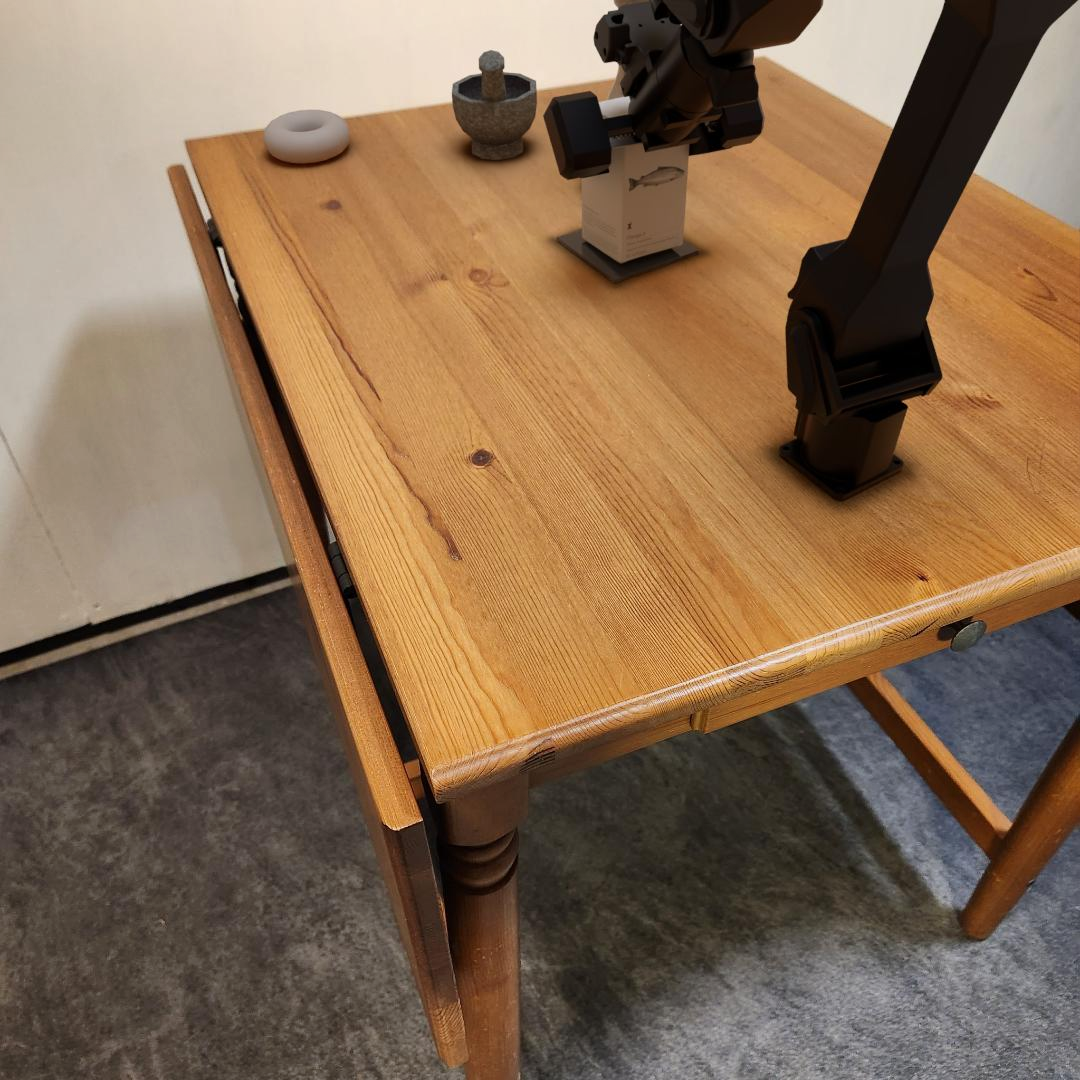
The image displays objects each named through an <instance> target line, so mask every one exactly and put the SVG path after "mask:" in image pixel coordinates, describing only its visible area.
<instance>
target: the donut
mask: <svg viewBox="0 0 1080 1080" xmlns="http://www.w3.org/2000/svg"><path fill="white" fill-rule="evenodd" d="M262 138H263V139H262V140H263V145H264V147H265V149H266V150H267V151H268V153H269V154H270V155H271V156H272V157H274V158H276V159H278V160H280V161H282V162H285V163H292V164H302V165H303V164H304V165H305V164H313V163H314V164H315V163H319V162H324V161H327V160H329V159H332V158H335V157H337V156H338V155H340V154H341V153H342V152H344V151H345V150H346V148H347V147H348V146H349V144H350V141H351V131H350V127H349V125H348V123H347V122H346V121H345V119H344V118H343V117H342V116H340V115H338V114H337V113H334V112H332V111H329V110H322V109H299V110H294V111H290V112H286V113H283V114H281V115H279V116H277V117H276V118H274V119H272V120H270V122H269V123H268V124H267V126H266V127H265V128H264V131H263V137H262Z"/></svg>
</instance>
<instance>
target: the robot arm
mask: <svg viewBox="0 0 1080 1080" xmlns="http://www.w3.org/2000/svg"><path fill="white" fill-rule="evenodd" d="M1078 1H1079V0H944V2H943V5H942V9H941V11H940V14H939V17H938V18H937V22H936V24H935V26H934V29H933V32H932V34H931V36H930V39H929V41H928V44H927V46H926V48H925V50H924V53H923V55H922V58H921V60H920V62H919V65H918V67H917V70H916V72H915V75H914V77H913V80H912V81H911V85H910V87H909V89H908V91H907V94H906V97H905V98H904V102H903V104H902V106H901V109H900V111H899V113H898V116H897V119H896V121H895V124H894V126H893V128H892V131H891V133H890V135H889V138H888V140H887V143H886V146H885V147H884V150H883V152H882V155H881V157H880V160H879V162H878V165H877V167H876V169H875V171H874V174H873V175H872V180H871V182H870V183H869V186H868V189H867V190H866V193H865V196H864V199H863V201H862V203H861V206H860V208H859V209H858V213H857V215H856V218H855V220H854V222H853V225H852V227H851V230H850V231H849V233H848V235H847V237H846V238H843V239H839V240H835V241H831V242H825V243H822V244H819V245H814V246H810V247H809V248H808V249H807V251H806V252H805V253H804V255H803V257H802V259H801V262H800V267H799V271H798V274H797V278H796V281H795V283H794V285H793V287H791V289H790V290H789V291H788V292H787V294H786V296H787V299H790V300H792V301H791V303H790V305H789V308H788V311H787V314H786V322H785V327H784V330H785V331H784V332H785V333H784V335H785V360H786V361H785V362H786V382H787V383H786V385H787V390H788V391H789V392H790V394H791V395H793V396H794V397H795V405H794V408H795V410H797V415H796V419H795V424H794V429H793V436H794V437H795V439H792V440H790V441H788V442H786V443H783V444H781V445H780V446H779V448H778V449H779V450H778V455H780V456H781V457H782V458H783V459H785V460H786V461H787V462H788V463H790V464H791V465H792V466H793V467H795V468H796V469H797V470H798V471H800V472H801V473H802V474H804V475H805V476H806V477H808V479H810V480H811V481H813V482H814V483H815V484H816V485H818V486H819V487H820V488H821V489H822V490H824V491H826V493H828V494H829V495H830V496H831V497H833V498H834V499H836V500H841V501H843V500H845V499H847V498H849V497H851V496H853V495H855V494H857V493H859V492H861V491H863V490H865V489H867V488H869V487H871V486H873V485H874V484H877V483H878V482H881V481H883V480H885V479H886V478H888V477H891V476H892V475H895V474H896V473H899V472H901V471H902V470H903V468H904V465H905V463H904V461H903V460H902V459H901V458H899V456H897V455H896V454H894V453H895V451H896V447H897V444H898V441H899V437H900V436H901V432H902V428H903V425H904V422H905V419H906V415H907V412H908V408H909V405H908V404H906V403H905V402H904V401H907V400H911V399H914V398H917V397H926V396H929V395H930V394H931V393H932V392H934V389H936V387H937V386H938V385H939V384H940V383H941V381H942V379H943V372H942V368H941V365H940V361H939V357H938V355H937V351H936V347H935V344H934V341H933V337H932V333H931V330H930V326H929V324H928V321H927V317H928V314H929V312H930V309H931V307H932V304H933V301H934V297H935V291H934V286H933V282H932V278H931V273H930V267H929V260H930V258H931V255H932V253H933V251H934V249H935V248H936V245H937V244H938V242H939V240H940V237H942V236H941V235H942V234H943V232H944V230H945V228H946V226H947V224H948V222H949V220H950V218H951V216H952V214H953V213H954V211H955V208H956V207H957V205H958V203H959V200H960V199H961V197H962V195H963V193H964V191H965V190H966V187H967V185H968V183H969V181H970V179H971V177H972V175H973V173H974V171H975V169H976V167H977V166H978V164H979V162H980V160H981V158H982V156H983V154H984V152H985V150H986V148H987V146H988V144H989V142H990V140H991V139H992V136H993V135H994V132H995V130H996V128H997V126H998V125H999V122H1000V121H1001V119H1002V118H1003V115H1004V113H1005V111H1006V109H1007V107H1008V106H1009V104H1010V101H1011V99H1012V98H1013V96H1014V93H1015V92H1016V89H1017V88H1018V85H1020V82H1021V80H1022V78H1023V76H1024V74H1025V72H1026V70H1027V68H1028V66H1029V64H1030V63H1031V60H1032V59H1033V56H1034V54H1035V53H1036V51H1037V49H1038V47H1039V45H1040V43H1041V41H1042V39H1043V37H1044V35H1045V34H1046V33H1047V31H1048V30H1049V29H1050V27H1051V26H1052V25H1053V24H1054V23H1056V22H1057V20H1059V19H1060V18H1061V17H1062V16H1063V15H1064V14H1065V13H1066V12H1067V11H1068V10H1069V9H1071V8H1072V7H1073V6H1074V5H1075V4H1076V3H1077V2H1078ZM823 6H824V0H649V1H647V2H641V3H634V4H628V5H623V6H621V7H619V8H617V9H613V10H608V11H607V13H606V14H603V15H602V16H601V17H600V19H599V21H598V22H597V23H596V25H595V28H594V33H593V45H594V47H595V49H596V51H597V53H598V54H599V55H598V56H599V57H600V59H601V61H602V62H603V63H604V64H610V63H617V65H618V66H619V65H621V66H622V68H623V70H624V72H625V73H626V74H625V76H624V77H623V79H622V80H621V82H620V86H621V89H622V93H623V96H624V97H628V96H629V98H630V103H629V106H628V114H627V115H622V116H616V117H611V118H606V119H603V116H602V112H601V109H600V105H599V102H600V101H599V99H598V96H597V94H595V93H594V92H593V91H591V90H587V91H581V92H576V93H575V92H574V93H571V94H564V95H558V96H553V97H552V98H551V100H550V102H549V104H548V106H547V107H546V109H545V111H544V112H543V115H542V117H543V121H544V124H545V128H546V131H547V134H548V137H549V141H550V145H551V148H552V152H553V155H554V159H555V162H556V166H557V170H558V172H559V173H558V174H559V175H560V176H561V177H562V178H564V179H565V180H567V181H570V180H571V181H572V180H576V179H582V178H587V177H592V176H597V175H602V174H607V173H609V168H608V167H609V166H610V165H611V154H612V150H614V149H620V148H625V147H630V146H635V145H640V144H643V147H644V151H645V153H646V152H651V151H656V150H661V149H666V148H671V147H676V146H681V145H686V144H689V157H693V156H701V155H706V154H710V153H716V152H721V151H726V150H730V149H732V148H735V147H739V146H744V145H745V146H746V145H749V144H752V143H753V142H754V141H756V139H757V138H758V137H759V136H760V135H762V133H763V130H764V127H765V121H766V120H765V119H766V117H765V113H764V109H763V107H762V103H761V98H760V96H759V91H760V84H759V81H758V78H757V74H756V65H755V64H754V59H755V52H754V51H755V50H761V49H762V50H763V49H766V48H773V47H778V46H783V45H789V44H792V43H793V42H795V41H797V39H798V38H799V37H800V36H801V35H802V33H803V32H805V30H806V28H807V27H808V26H809V25H810V24H811V22H812V21H813V20H814V19H815V18H816V16H817V15H818V14H819V12H820V11H821V10H822V8H823ZM633 133H635V134H633ZM629 134H630V135H629ZM621 135H622V137H621ZM625 135H626V136H625ZM616 136H618V138H617V137H616ZM612 137H613V138H612Z"/></svg>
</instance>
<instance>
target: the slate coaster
mask: <svg viewBox="0 0 1080 1080" xmlns="http://www.w3.org/2000/svg"><path fill="white" fill-rule="evenodd" d="M556 242H558V243H559V244H560V245H561V246H563V247H564V248H566V249H567V250H568V251H569V252H571V253H572V254H574V256H576V257H577V258H578V259H580V260H582V261H583V262H584V263H586V264H588V265H589V267H591V268H593V269H594V270H595V271H597V272H598V273H599V274H601V275H602V276H604V277H605V278H606V279H607V280H609V281H610V282H611V283H613V284H617V283H620V282H622V281H625V280H628V279H632V278H633V277H636V276H637V277H638V276H639V275H642V274H646V273H649V272H651V271H654V270H657V269H660V268H663V267H665V266H668V265H671V264H673V263H676V262H679V261H682V260H684V259H688V258H692V257H693V256H696V255H699V254H700V249H698V248H697V247H695V246H694V245H692V244H690V243H689V242H687V241H686V240H684V239H683V245H681V246H679V247H674V248H669V249H666V250H663V251H659V252H655V253H652V254H648V255H645V256H641V257H638V258H635V259H632V260H629V261H626V262H624V263H619V262H617V261H616V260H614V259H613V258H611V257H610V256H608V255H607V254H605V253H603V252H602V251H601V250H599V249H598V248H596V247H595V246H593V245H592V244H590V243H589V242H587V241H586V240H584V239H583V238H582V228H581V229H579V230H575V231H572V232H569V233H566V234H562V235H559V236H556Z"/></svg>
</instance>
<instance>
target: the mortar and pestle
mask: <svg viewBox="0 0 1080 1080" xmlns="http://www.w3.org/2000/svg"><path fill="white" fill-rule="evenodd" d="M504 69H505V57H504V56H503V55H502V54H501V53H500V51H497V50H493V49H490V50H487V51H484V52H482V54H481V55H480V56H479V57H478V70H479V71H480V72H481V73H474V74H469V75H467V76H465V77H463V78H461V79H459V80H457V81H455V82H453V83H452V88H451V101H452V102H451V103H452V109H453V113H454V118H455V120H456V122H457V124H458V126H459V128H460V129H461V130H462V132H464V133H465V134H466V135H467V136H468V137H469V138H470V139H471V154H472V155H474V156H476V157H478V158H480V159H483V160H490V161H491V160H492V161H501V160H506V159H507V160H508V159H512V158H515V157H517V156H519V155H521V153H524V138H523V136H525V134H527V132H528V131H529V130H531V127H532V125H533V123H534V121H535V118H536V115H537V107H538V93H537V92H538V91H537V80H536V79H533V78H531V77H529V76H526V75H524V74H522V73H520V72H519V73H518V72H517V73H516V72H508V71H507V72H506V71H504Z"/></svg>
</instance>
